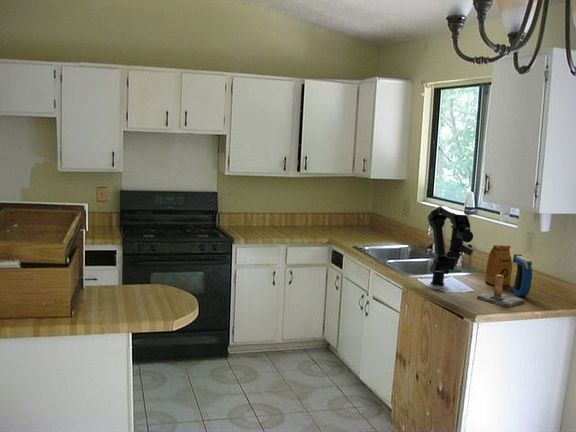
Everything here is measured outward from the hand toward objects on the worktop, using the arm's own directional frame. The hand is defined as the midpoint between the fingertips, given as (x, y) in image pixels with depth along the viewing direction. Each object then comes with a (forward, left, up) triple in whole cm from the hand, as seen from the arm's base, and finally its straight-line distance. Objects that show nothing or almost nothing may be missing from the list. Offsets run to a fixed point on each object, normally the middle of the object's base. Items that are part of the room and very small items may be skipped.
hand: (453, 268), depth 296 cm
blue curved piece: (-20, +32, -12) cm, 40 cm away
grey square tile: (0, +24, -12) cm, 27 cm away
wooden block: (+3, +23, -12) cm, 26 cm away
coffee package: (-36, +21, -12) cm, 44 cm away
